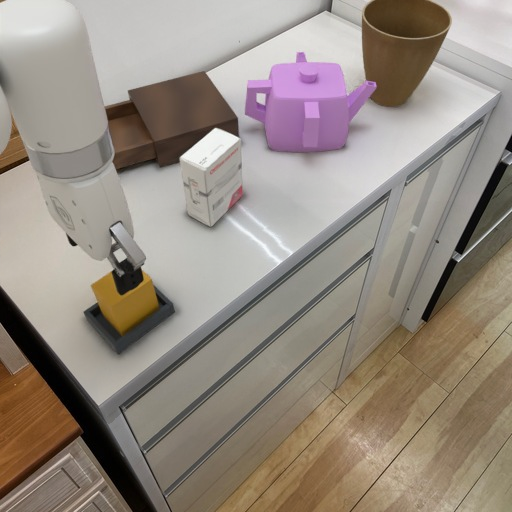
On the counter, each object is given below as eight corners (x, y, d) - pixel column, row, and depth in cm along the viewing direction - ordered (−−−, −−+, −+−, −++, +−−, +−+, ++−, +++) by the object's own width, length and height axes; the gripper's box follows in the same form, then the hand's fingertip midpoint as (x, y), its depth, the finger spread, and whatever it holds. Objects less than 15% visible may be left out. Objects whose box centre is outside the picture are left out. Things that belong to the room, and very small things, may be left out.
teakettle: (237, 132, 95) (235, 70, 86) (298, 91, 103) (302, 30, 94) (312, 176, 88) (318, 113, 78) (371, 128, 96) (383, 66, 86)
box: (123, 337, 68) (111, 307, 63) (103, 316, 70) (90, 285, 65) (160, 310, 71) (151, 278, 66) (140, 290, 73) (130, 258, 68)
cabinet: (159, 167, 90) (154, 141, 85) (133, 116, 99) (127, 90, 94) (239, 144, 93) (238, 117, 89) (206, 96, 102) (204, 70, 98)
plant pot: (334, 99, 102) (345, 17, 89) (377, 66, 109) (392, -14, 96) (402, 130, 95) (424, 47, 83) (442, 93, 102) (468, 11, 90)
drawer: (73, 186, 86) (67, 168, 83) (55, 135, 94) (49, 117, 91) (176, 156, 90) (173, 138, 87) (150, 109, 98) (147, 91, 95)
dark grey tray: (118, 354, 67) (114, 346, 66) (86, 320, 71) (82, 311, 69) (175, 311, 71) (173, 303, 70) (142, 280, 75) (140, 272, 73)
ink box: (220, 183, 87) (216, 124, 78) (244, 195, 85) (243, 136, 76) (186, 215, 83) (177, 156, 73) (211, 228, 81) (205, 170, 72)
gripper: (-14, 118, 51) (38, 238, 64) (86, 213, 43) (122, 328, 56) (56, 88, 54) (92, 208, 67) (161, 171, 46) (178, 288, 59)
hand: (106, 262), depth 62 cm, fingers open, 9 cm apart
